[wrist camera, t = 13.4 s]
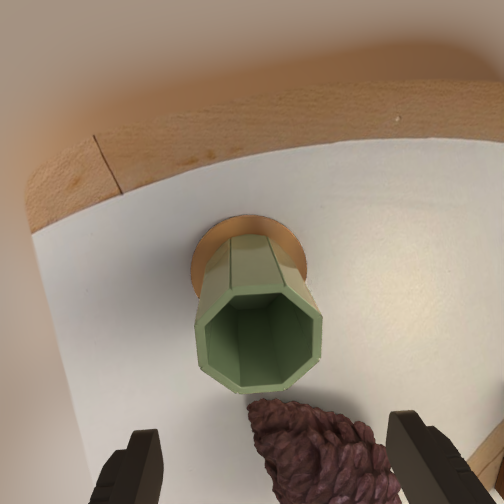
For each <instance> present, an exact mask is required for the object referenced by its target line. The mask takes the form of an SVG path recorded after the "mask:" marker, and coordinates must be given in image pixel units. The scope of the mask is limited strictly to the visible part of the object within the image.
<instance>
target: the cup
mask: <svg viewBox="0 0 504 504" xmlns="http://www.w3.org/2000/svg"><path fill="white" fill-rule="evenodd" d="M322 319H323V317H322V315H321V312H320V311H319V309H318V307H317V305H316V303H315V301H314V299H313V297H312V295H311V294H310V292H309V290H308V288H307V286H306V284H305V282H304V280H303V278H302V277H301V275H300V273H299V271H298V269H297V267H296V265H295V263H294V261H293V260H292V258H291V256H289V255H288V254H287V253H286V252H285V251H284V250H283V249H282V247H281V246H280V245H279V244H277V243H276V242H275V241H273V240H271V239H270V238H269V237H268V236H267V237H266V236H265V235H263V236H261V235H256V234H245V235H239V236H236V237H231V239H230V238H229V239H228V240H227V241H226V242H224V243H223V244H222V245H221V246H220V247H219V248H218V249H217V250H216V251H215V253H214V254H213V256H212V257H211V258H210V259H209V261H208V262H207V264H206V268H205V273H204V278H203V283H202V288H201V294H200V299H199V304H198V309H197V314H196V319H195V324H194V329H195V338H196V347H197V356H198V365H199V367H201V368H200V369H201V370H202V371H203V372H205V373H206V374H208V375H209V376H211V377H212V378H214V379H215V380H217V381H218V382H219V383H221V384H222V385H224V386H225V387H227V388H228V389H230V390H231V391H233V392H234V393H235V394H236V393H237V392H238V393H239V394H250V393H263V392H276V391H284V388H285V389H288V388H289V387H291V386H292V385H293V384H294V383H295V382H296V381H297V380H298V379H300V378H301V377H302V376H303V375H304V374H305V373H306V372H307V371H309V370H310V369H311V368H312V367H313V366H314V365H315V364H316V363H318V362H319V358H321V345H322Z"/></svg>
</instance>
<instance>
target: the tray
mask: <svg viewBox="0 0 504 504" xmlns="http://www.w3.org/2000/svg"><path fill="white" fill-rule="evenodd" d="M495 489H496V491H497V492H498V493H499V495H500V496H501V497H502V498H503V500H504V459H503V462H502V465H501V469H500V472H499V476H498V479H497V482H496V486H495Z"/></svg>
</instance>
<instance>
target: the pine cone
mask: <svg viewBox="0 0 504 504" xmlns="http://www.w3.org/2000/svg"><path fill="white" fill-rule="evenodd" d="M247 410H248V411H249V413H248V418H249V420H250V422H251V428H252V432H254V433H255V434H254V442H255V444H254V446H255V447H256V449H257V452H258V453H259V454H260V455H261V456H263V457H264V458H265V468H266V469H267V473H268V474H269V475H270V476H271V478H272V480H273V489H272V491H273V492H274V493H275V495H276V498H277V500H278V501H279V502H280V504H402V502H401V500H400V497H399V495H398V492H399V491H400V489H401V486H400V484H399V482H398V480H397V478H396V476H395V474H394V473H392V472H391V471H390V469H391V465H390V463H389V460H388V457H387V453H386V447H385V446H383V445H382V444H380V445H379V444H376V443H375V438H374V434H373V431H372V429H371V428H370V427H369V426H366V425H365V423H363V422H361V421H355V423H354V424H353V423H352V422H351V420H350V419H349V418H347V417H345V416H344V415H343V414H337V415H336V414H335V413H334V412H325V411H323V410H321V409H320V408H318V407H316V408H312V407H311V406H310V405H309V404H300V403H298V402H295V401H292V402H288V403H282V402H281V400H279V399H277V398H275V399H273V400H268V401H267V400H266V399H264V398H262V399H260V400H259V401H254V402H252V403H251V404H249V405H248V406H247Z"/></svg>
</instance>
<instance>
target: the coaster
mask: <svg viewBox="0 0 504 504" xmlns="http://www.w3.org/2000/svg"><path fill="white" fill-rule="evenodd" d="M245 234H256V235H261V236H263V235H265V236H266V237H267V236H268V237H269V238H270V239H271V240H273V241H275V242H276V243H277V244H279V245H280V246H281V247H282V249H283V250H284V251H285V252H286V253H287V254H288V255H289V256H291V258H292V260H293V261H294V263H295V265H296V267H297V269H298V271H299V273H300V275H301V277H302V278H303V280H304V282H305V280H306V274H307V263H306V257H305V254H304V251H303V248H302V247H301V245H300V243H299V241H298V240H297V238H296V237H295V236H294V234H293V233H292V232H291V231H290V230H289V229H288V228H286V227H285V226H284V225H282V224H281V223H279V222H277V221H275V220H273V219H270V218H267V217H264V216H258V215H241V216H236V217H232V218H229V219H226V220H224V221H222V222H220V223H218V224H217V225H215V226H214V227H213V228H211V229H210V230H209V231H208V232H207V233H206V234H205V235H204V236H203V238H202V239H201V240H200V242H199V243H198V245H197V247H196V249H195V252H194V254H193V258H192V262H191V280H192V285H193V288H194V291H195V293H196V295H197V297H198V298H199V299H200V294H201V288H202V283H203V278H204V273H205V268H206V264H207V262H208V261H209V259H210V258H211V257H212V256H213V254H214V253H215V251H216V250H217V249H218V248H219V247H220V246H221V245H222V244H223V243H224V242H226V241H227V240H228V239H229V238H230V239H231V237H236V236H239V235H245Z"/></svg>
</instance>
